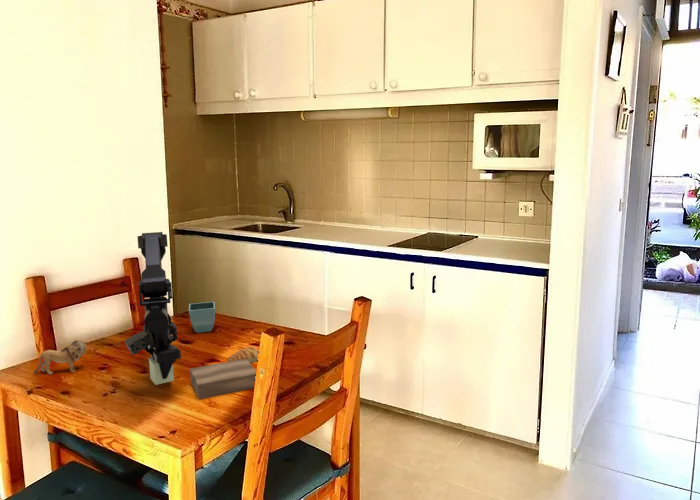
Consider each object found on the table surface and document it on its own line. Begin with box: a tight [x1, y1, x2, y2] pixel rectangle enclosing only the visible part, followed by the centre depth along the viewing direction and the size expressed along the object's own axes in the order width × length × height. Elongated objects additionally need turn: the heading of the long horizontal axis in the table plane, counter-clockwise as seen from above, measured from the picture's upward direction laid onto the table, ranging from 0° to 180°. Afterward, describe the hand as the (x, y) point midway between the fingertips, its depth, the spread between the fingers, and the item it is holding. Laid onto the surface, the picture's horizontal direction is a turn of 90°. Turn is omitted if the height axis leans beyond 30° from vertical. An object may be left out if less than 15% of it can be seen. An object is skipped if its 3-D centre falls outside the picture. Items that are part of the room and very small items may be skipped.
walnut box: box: [189, 359, 257, 400], centre depth 161 cm, size 12×16×4 cm
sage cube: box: [148, 357, 175, 386], centre depth 161 cm, size 5×5×6 cm
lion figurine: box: [32, 338, 87, 375], centre depth 172 cm, size 15×5×9 cm, turn 111°
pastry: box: [227, 346, 259, 364], centre depth 177 cm, size 9×7×4 cm
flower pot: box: [188, 301, 216, 334], centre depth 206 cm, size 9×9×9 cm
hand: (161, 375), depth 162 cm, fingers closed on sage cube, 5 cm apart
